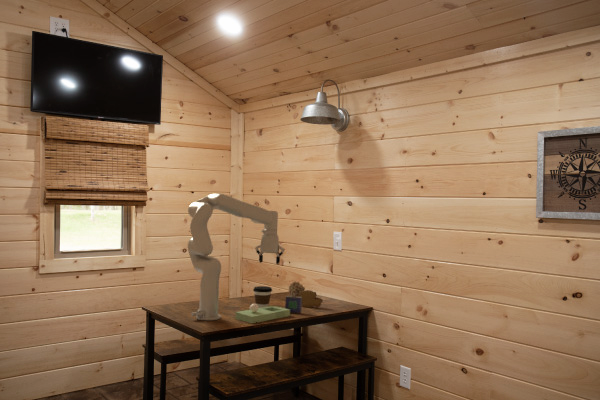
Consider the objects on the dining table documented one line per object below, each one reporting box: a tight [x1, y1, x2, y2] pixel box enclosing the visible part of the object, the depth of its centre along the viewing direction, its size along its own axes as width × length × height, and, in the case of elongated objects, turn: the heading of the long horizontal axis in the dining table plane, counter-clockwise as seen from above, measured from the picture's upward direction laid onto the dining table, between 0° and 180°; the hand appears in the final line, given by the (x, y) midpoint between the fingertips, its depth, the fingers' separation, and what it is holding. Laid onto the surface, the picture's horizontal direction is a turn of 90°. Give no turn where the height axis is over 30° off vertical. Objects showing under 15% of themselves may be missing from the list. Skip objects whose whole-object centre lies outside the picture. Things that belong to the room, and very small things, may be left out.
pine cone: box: [288, 281, 306, 297], centre depth 322 cm, size 22×10×10 cm, turn 34°
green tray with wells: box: [234, 305, 291, 324], centre depth 266 cm, size 27×13×3 cm, turn 136°
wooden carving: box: [299, 289, 324, 309], centre depth 296 cm, size 16×5×10 cm, turn 75°
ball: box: [249, 303, 259, 313], centre depth 262 cm, size 5×5×5 cm
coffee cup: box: [252, 285, 273, 308], centre depth 287 cm, size 11×11×12 cm
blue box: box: [284, 294, 303, 315], centre depth 280 cm, size 9×3×11 cm, turn 80°
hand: (269, 263), depth 284 cm, fingers open, 9 cm apart
